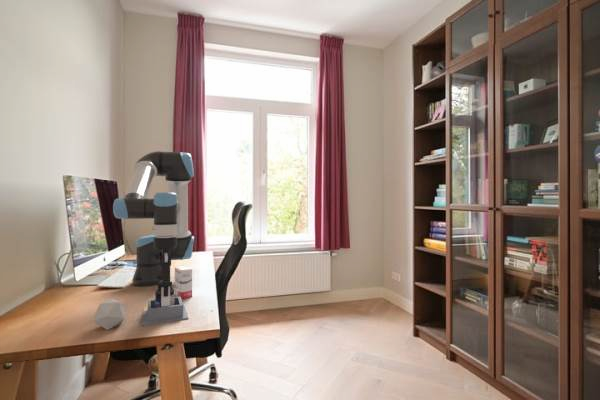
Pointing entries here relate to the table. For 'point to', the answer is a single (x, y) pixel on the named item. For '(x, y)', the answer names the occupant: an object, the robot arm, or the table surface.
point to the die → (110, 314)
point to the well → (164, 313)
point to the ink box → (183, 282)
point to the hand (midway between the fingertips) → (165, 302)
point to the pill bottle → (158, 296)
